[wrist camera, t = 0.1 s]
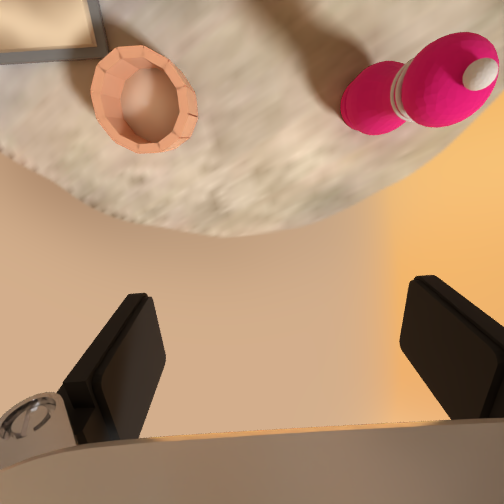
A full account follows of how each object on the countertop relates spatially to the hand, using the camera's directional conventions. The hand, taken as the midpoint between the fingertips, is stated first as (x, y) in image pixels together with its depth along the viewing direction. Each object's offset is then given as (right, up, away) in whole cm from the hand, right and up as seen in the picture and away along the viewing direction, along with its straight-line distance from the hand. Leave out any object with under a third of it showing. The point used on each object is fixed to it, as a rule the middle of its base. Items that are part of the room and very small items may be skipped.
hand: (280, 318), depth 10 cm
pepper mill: (+13, +21, +25) cm, 36 cm away
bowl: (-13, +20, +25) cm, 35 cm away
